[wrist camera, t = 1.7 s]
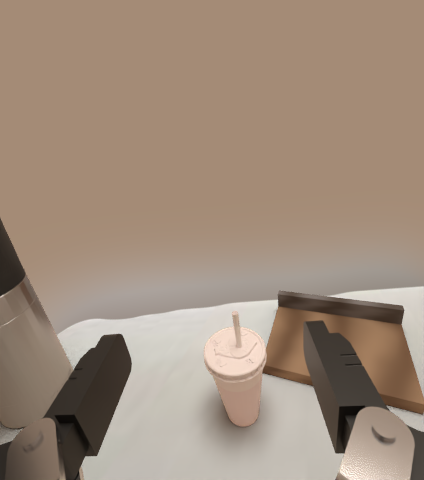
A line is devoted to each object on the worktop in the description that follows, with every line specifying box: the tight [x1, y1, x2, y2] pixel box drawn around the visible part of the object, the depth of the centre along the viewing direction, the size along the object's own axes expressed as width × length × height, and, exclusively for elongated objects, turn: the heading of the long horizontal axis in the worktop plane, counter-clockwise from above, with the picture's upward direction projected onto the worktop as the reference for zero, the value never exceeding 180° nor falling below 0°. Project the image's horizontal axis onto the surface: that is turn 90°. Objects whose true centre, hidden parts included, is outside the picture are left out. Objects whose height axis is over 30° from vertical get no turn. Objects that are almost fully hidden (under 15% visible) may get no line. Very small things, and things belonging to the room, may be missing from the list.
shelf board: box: [262, 291, 424, 414], centre depth 35 cm, size 17×13×4 cm
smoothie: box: [204, 311, 267, 427], centre depth 27 cm, size 6×6×14 cm
